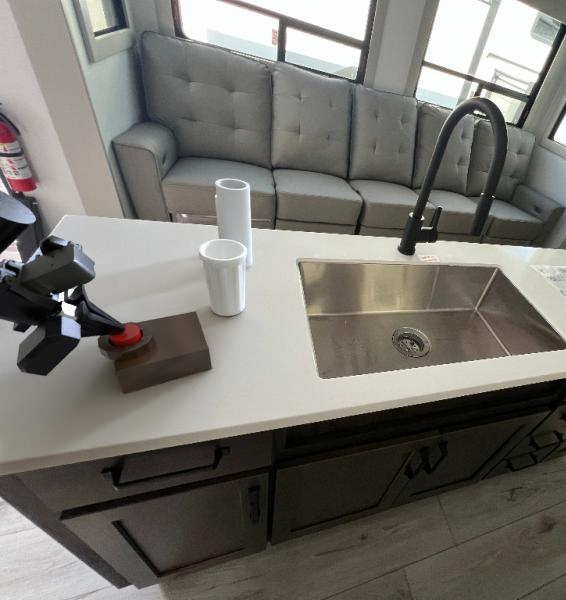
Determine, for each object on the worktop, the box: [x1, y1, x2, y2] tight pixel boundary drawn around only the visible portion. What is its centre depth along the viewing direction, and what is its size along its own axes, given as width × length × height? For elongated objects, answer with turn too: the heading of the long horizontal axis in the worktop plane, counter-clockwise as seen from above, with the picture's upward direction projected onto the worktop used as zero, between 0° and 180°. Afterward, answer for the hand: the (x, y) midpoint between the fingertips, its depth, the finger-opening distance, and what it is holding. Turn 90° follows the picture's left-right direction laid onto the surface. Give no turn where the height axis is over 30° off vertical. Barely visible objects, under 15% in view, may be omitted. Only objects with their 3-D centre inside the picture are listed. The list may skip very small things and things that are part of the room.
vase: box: [214, 177, 253, 269], centre depth 78 cm, size 11×7×20 cm, turn 24°
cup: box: [198, 238, 247, 317], centre depth 65 cm, size 8×8×14 cm
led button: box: [109, 323, 142, 347], centre depth 50 cm, size 4×4×2 cm
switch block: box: [97, 311, 213, 395], centre depth 54 cm, size 13×10×7 cm
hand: (123, 330), depth 49 cm, fingers closed, pressing on led button
